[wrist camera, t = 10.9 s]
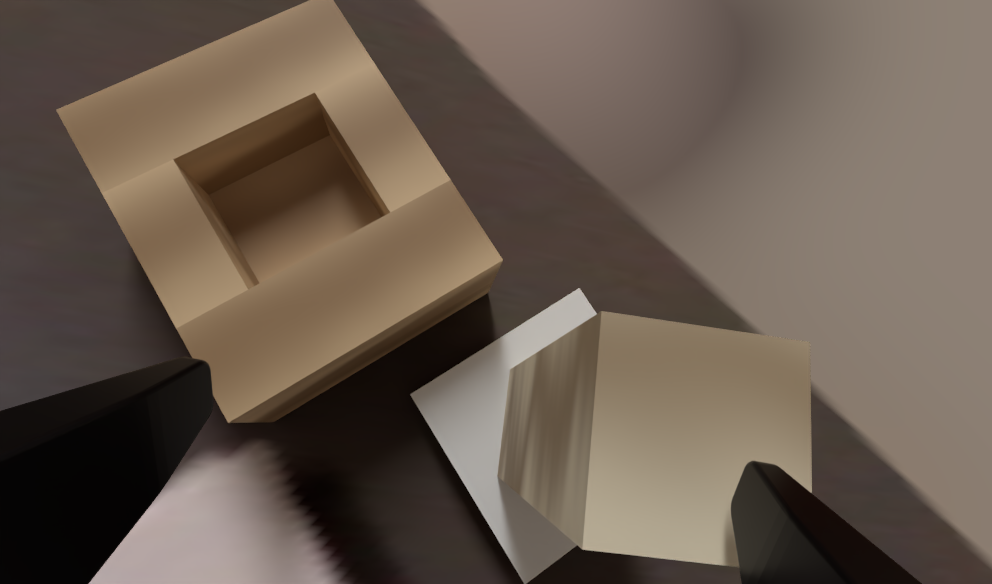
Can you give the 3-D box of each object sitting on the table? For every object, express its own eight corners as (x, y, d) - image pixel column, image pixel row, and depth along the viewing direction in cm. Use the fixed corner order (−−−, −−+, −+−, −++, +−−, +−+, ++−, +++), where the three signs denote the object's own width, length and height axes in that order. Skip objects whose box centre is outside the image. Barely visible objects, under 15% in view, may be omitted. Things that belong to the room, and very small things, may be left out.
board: (676, 455, 23) (693, 457, 22) (518, 573, 21) (524, 584, 20) (570, 295, 24) (579, 288, 23) (411, 396, 22) (410, 394, 21)
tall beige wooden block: (601, 488, 21) (812, 575, 9) (497, 476, 21) (582, 549, 9) (609, 383, 22) (810, 341, 10) (510, 369, 22) (601, 310, 10)
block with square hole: (488, 292, 24) (503, 260, 19) (273, 422, 22) (228, 422, 17) (347, 74, 25) (328, -8, 20) (134, 174, 23) (55, 109, 18)
